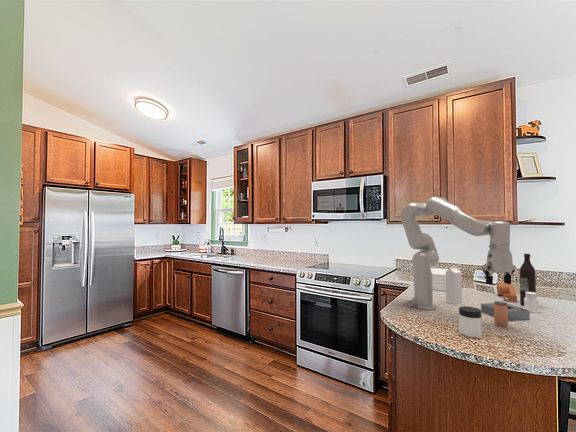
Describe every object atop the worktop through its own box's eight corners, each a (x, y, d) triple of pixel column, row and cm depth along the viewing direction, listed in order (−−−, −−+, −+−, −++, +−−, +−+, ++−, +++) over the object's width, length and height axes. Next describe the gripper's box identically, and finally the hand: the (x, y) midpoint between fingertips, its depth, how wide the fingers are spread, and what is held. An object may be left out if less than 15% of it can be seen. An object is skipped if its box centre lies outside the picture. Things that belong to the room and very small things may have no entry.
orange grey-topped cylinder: (501, 327, 128) (500, 304, 129) (491, 323, 133) (491, 301, 133) (510, 327, 129) (510, 304, 129) (501, 323, 134) (500, 300, 134)
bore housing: (504, 322, 137) (504, 311, 137) (481, 312, 151) (481, 303, 151) (529, 320, 139) (529, 310, 139) (504, 311, 153) (504, 302, 153)
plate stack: (467, 287, 210) (467, 271, 210) (448, 292, 194) (448, 276, 194) (430, 280, 233) (430, 266, 233) (411, 285, 217) (410, 270, 217)
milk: (462, 303, 168) (461, 266, 168) (455, 304, 165) (454, 267, 166) (452, 301, 174) (452, 265, 174) (445, 302, 171) (445, 265, 171)
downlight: (540, 314, 148) (539, 295, 148) (522, 311, 153) (522, 293, 153) (539, 310, 154) (539, 292, 154) (523, 308, 159) (522, 290, 159)
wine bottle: (519, 302, 169) (518, 252, 169) (535, 304, 165) (534, 253, 165) (520, 305, 163) (519, 254, 164) (537, 307, 159) (535, 254, 160)
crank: (497, 293, 192) (496, 281, 192) (511, 295, 187) (511, 283, 188) (500, 300, 175) (500, 287, 175) (516, 302, 170) (516, 289, 171)
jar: (461, 331, 126) (460, 304, 126) (482, 336, 121) (482, 308, 121) (457, 337, 119) (457, 309, 119) (480, 343, 114) (479, 313, 114)
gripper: (489, 248, 127) (488, 286, 127) (523, 248, 129) (522, 285, 129) (476, 246, 134) (475, 282, 135) (508, 246, 137) (507, 281, 137)
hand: (498, 283), depth 132 cm, fingers open, 9 cm apart
